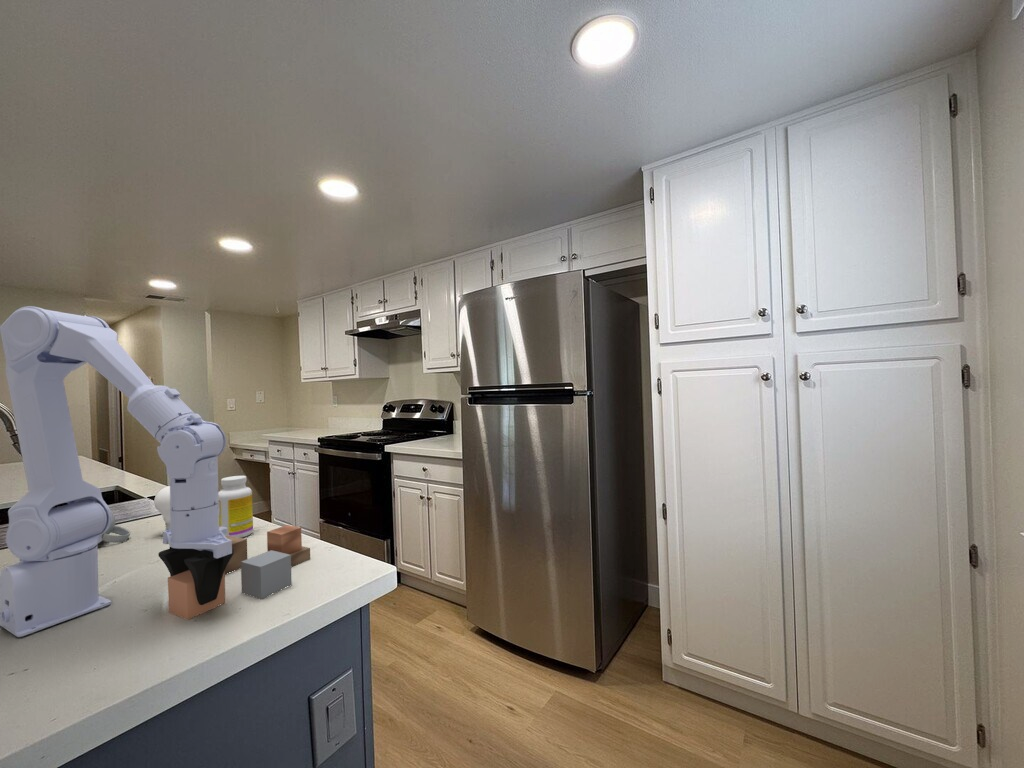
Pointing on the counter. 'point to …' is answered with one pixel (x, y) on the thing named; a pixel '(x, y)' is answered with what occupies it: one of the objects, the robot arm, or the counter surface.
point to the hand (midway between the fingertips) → (197, 597)
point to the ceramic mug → (117, 530)
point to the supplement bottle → (235, 507)
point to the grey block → (266, 574)
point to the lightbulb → (164, 505)
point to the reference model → (288, 543)
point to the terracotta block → (189, 596)
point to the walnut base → (236, 553)
